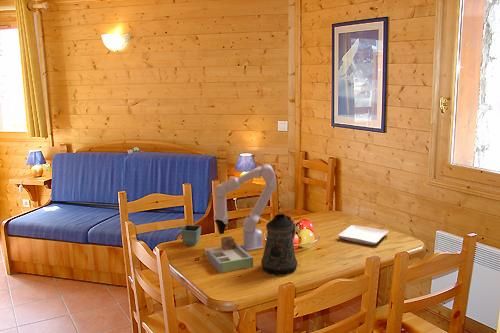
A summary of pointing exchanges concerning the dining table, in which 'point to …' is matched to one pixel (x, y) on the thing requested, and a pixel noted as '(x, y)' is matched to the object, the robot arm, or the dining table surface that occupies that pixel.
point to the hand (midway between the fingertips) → (221, 233)
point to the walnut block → (227, 243)
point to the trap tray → (229, 258)
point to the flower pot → (190, 234)
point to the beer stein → (279, 247)
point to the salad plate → (362, 234)
